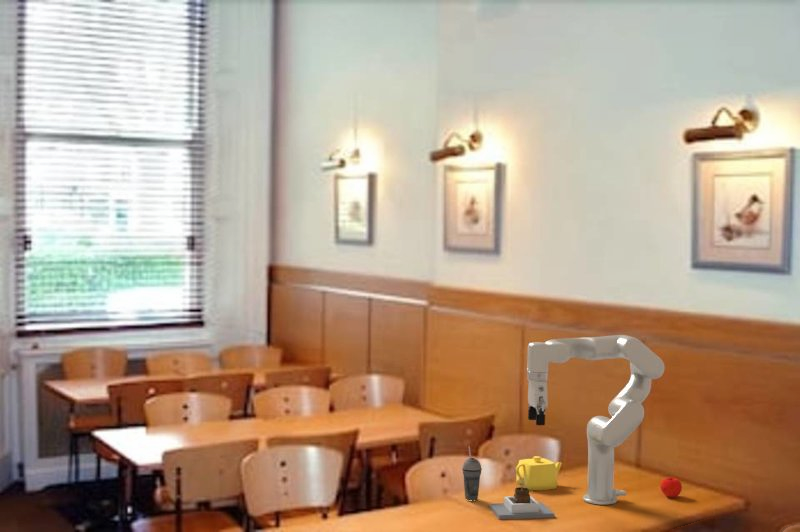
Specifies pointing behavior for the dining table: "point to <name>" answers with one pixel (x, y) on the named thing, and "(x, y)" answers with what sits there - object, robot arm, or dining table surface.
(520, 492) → the utensil holder
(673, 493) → the apple
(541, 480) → the teapot
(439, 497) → the dining table surface
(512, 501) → the dock
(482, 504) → the dining table surface
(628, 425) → the robot arm
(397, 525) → the dining table surface
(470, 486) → the beverage cup
